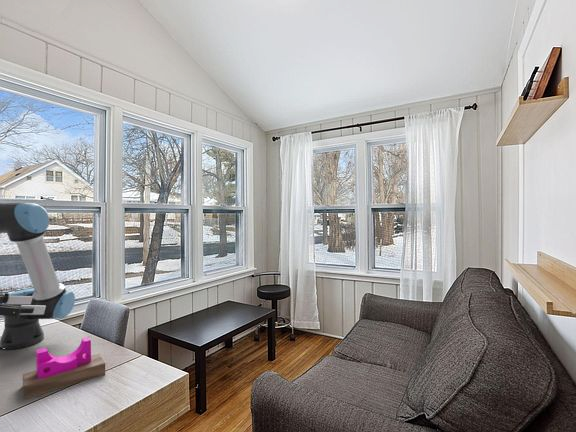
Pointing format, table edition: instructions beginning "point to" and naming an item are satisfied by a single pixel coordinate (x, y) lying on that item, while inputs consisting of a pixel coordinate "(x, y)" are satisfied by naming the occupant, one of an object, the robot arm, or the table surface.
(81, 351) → the toy block
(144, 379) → the table surface
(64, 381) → the base brick
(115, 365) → the table surface
